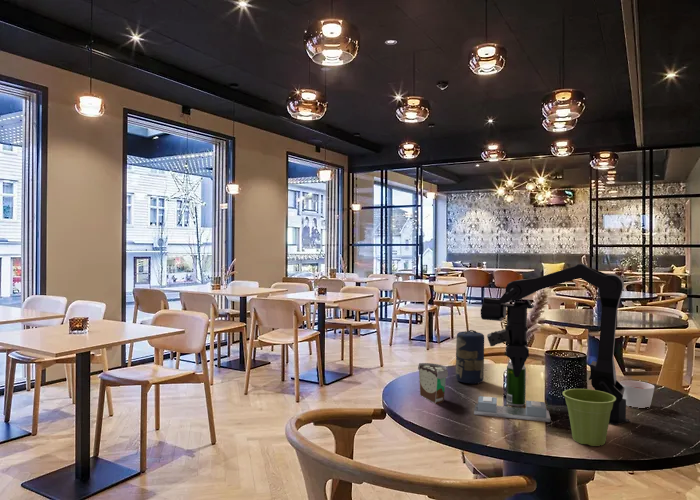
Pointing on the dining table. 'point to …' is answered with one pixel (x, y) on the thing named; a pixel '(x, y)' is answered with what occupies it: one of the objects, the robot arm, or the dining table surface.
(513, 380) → the beer can
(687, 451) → the dining table surface
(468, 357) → the canister
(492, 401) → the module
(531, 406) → the module
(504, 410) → the rail
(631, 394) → the white tapered cup
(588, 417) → the plant pot
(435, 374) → the food container
